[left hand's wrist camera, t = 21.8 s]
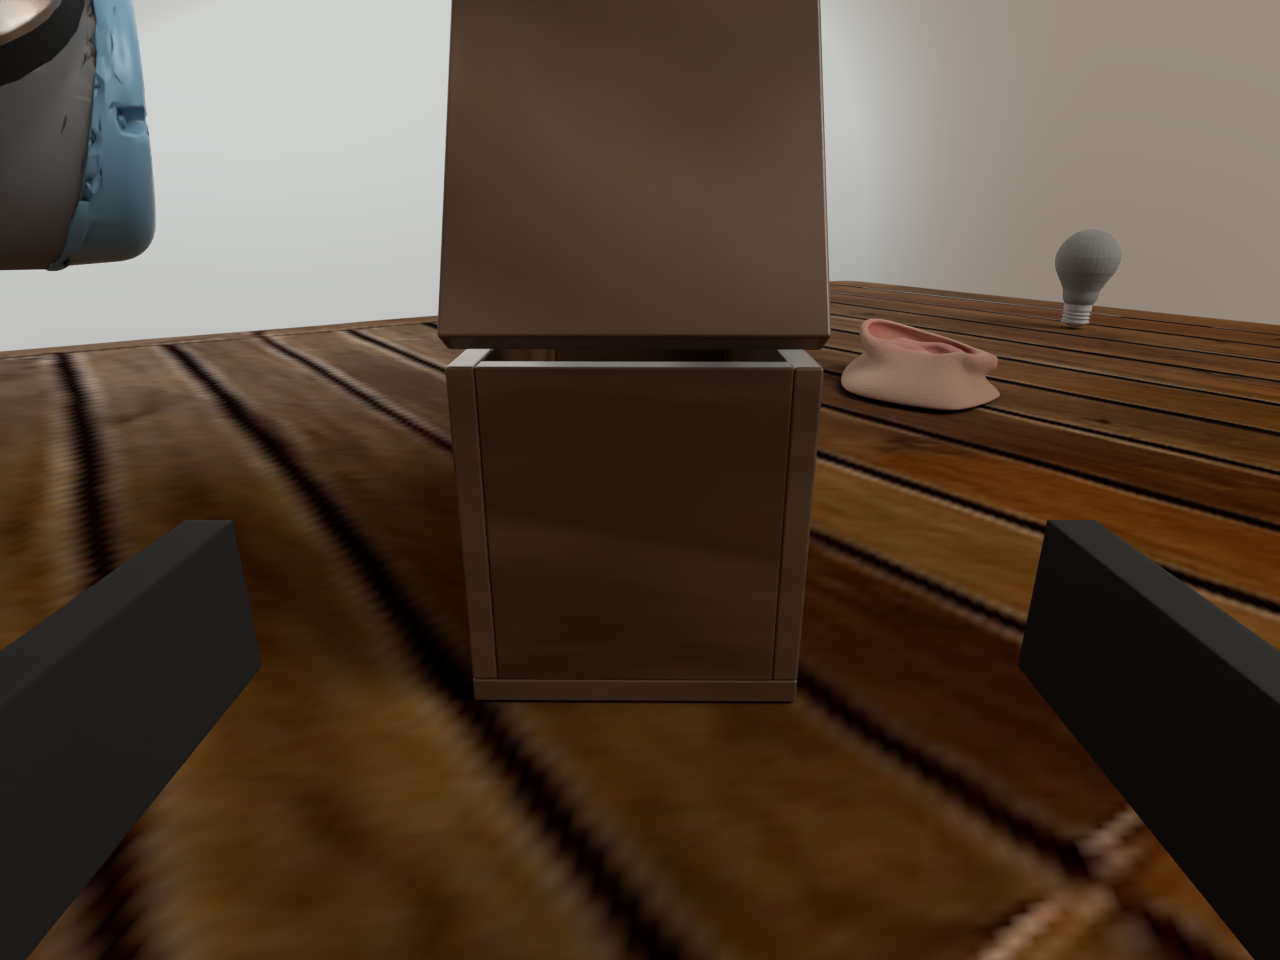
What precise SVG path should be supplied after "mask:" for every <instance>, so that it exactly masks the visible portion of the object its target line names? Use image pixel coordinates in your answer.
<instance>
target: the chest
mask: <svg viewBox="0 0 1280 960" xmlns="http://www.w3.org/2000/svg"><path fill="white" fill-rule="evenodd" d="M445 372H446V383H447V394H448V405H449V417H450V428H451V439H452V450H453V461H454V472H455V484H456V495H457V506H458V517H459V528H460V539H461V551H462V562H463V573H464V584H465V595H466V606H467V618H468V629H469V640H470V651H471V662H472V673H473V677H474V679H473V687H474V698H475V700H550V701H762V702H794V701H795V698H796V687H797V680H796V679H797V673H798V662H799V650H800V639H801V627H802V616H803V604H804V593H805V581H806V569H807V558H808V546H809V535H810V523H811V512H812V500H813V489H814V477H815V465H816V454H817V442H818V431H819V419H820V408H821V396H822V385H823V373H824V370H823V368H822V367H821V366H820V365H819V364H818V363H817V362H816V361H815V360H814V359H813V358H812V357H811V356H810V355H809V354H808V353H807V352H806V351H805V350H706V349H467V350H466V351H464V352H463V353H462V354H461V355H460V356H459V357H457V358H456V359H455V360H454V361H453V362H452V363H450V364H449V365H448V366H447V367H446V369H445Z"/></svg>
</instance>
